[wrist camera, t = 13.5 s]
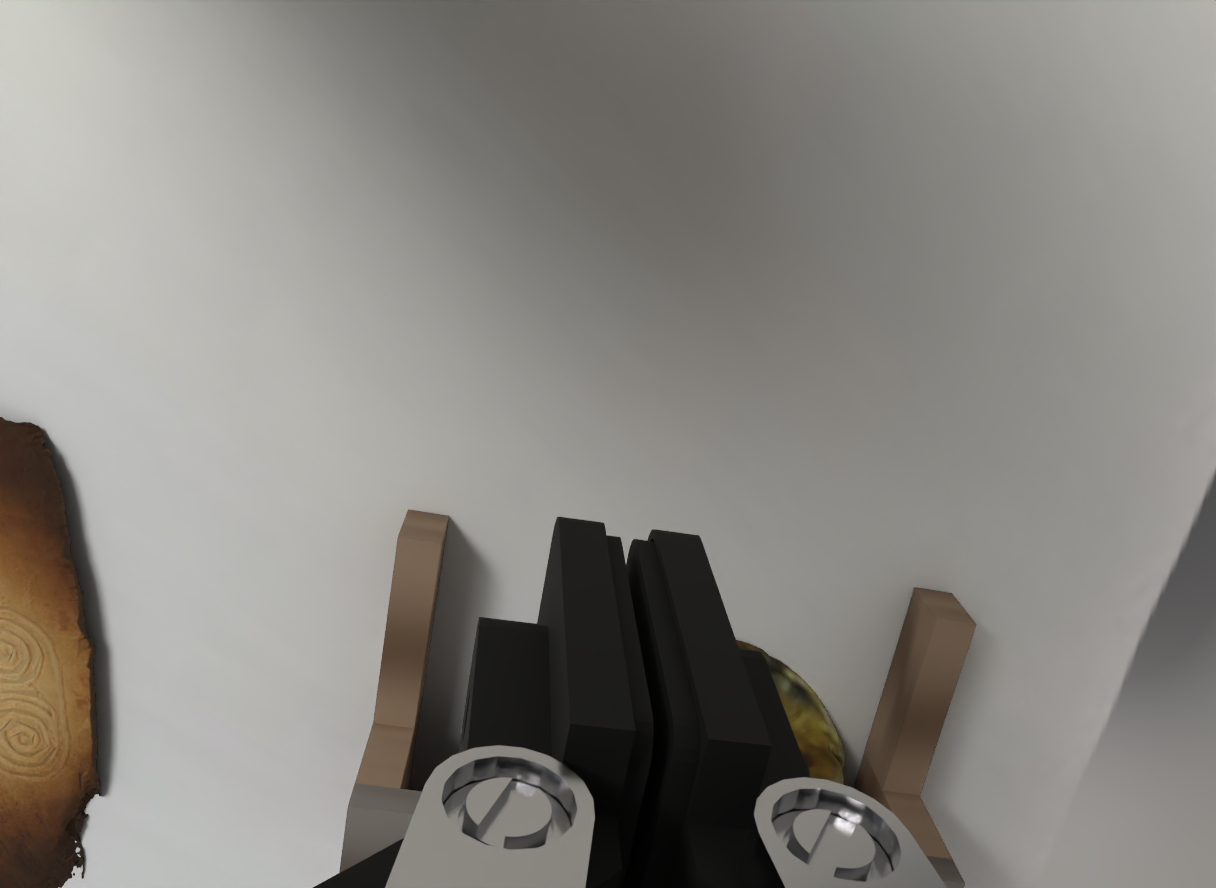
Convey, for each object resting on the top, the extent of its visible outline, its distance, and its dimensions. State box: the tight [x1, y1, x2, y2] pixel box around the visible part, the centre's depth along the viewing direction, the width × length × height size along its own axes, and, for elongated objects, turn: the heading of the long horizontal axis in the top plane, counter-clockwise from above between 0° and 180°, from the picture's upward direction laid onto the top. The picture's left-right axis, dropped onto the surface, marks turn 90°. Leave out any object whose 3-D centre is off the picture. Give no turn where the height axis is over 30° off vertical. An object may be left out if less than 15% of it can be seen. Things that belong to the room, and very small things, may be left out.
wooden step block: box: [340, 510, 976, 888], centre depth 38 cm, size 16×21×7 cm
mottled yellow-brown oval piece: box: [736, 640, 845, 785], centre depth 40 cm, size 9×5×15 cm
